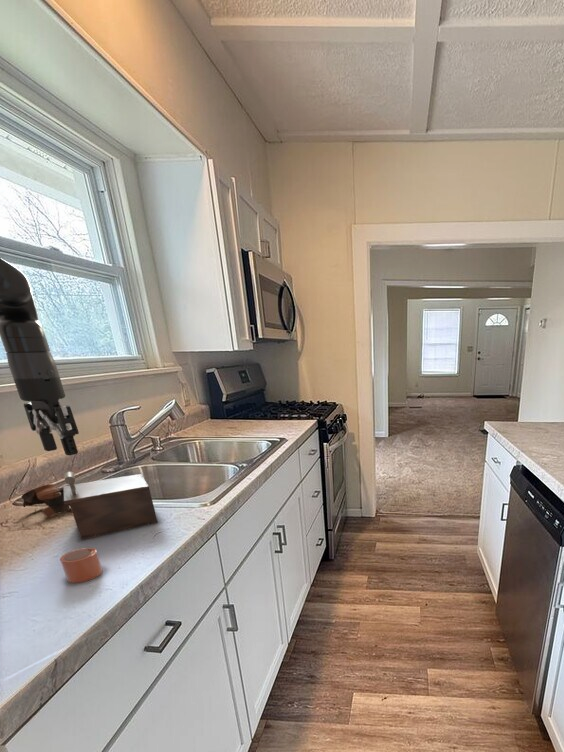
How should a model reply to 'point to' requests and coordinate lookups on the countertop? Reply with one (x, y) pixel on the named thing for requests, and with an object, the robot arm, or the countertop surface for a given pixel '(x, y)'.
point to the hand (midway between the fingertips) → (61, 452)
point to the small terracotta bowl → (81, 565)
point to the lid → (101, 487)
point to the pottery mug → (47, 499)
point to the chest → (113, 513)
